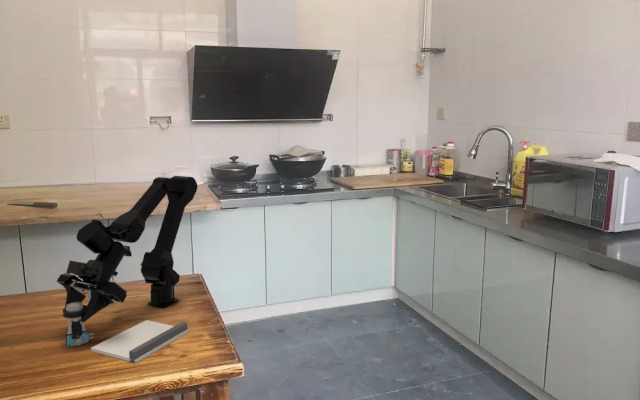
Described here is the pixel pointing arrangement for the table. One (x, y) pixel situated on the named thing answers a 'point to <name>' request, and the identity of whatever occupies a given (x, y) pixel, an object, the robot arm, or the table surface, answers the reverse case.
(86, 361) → the table surface
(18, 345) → the table surface
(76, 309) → the push button
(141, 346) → the marker board
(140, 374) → the table surface
